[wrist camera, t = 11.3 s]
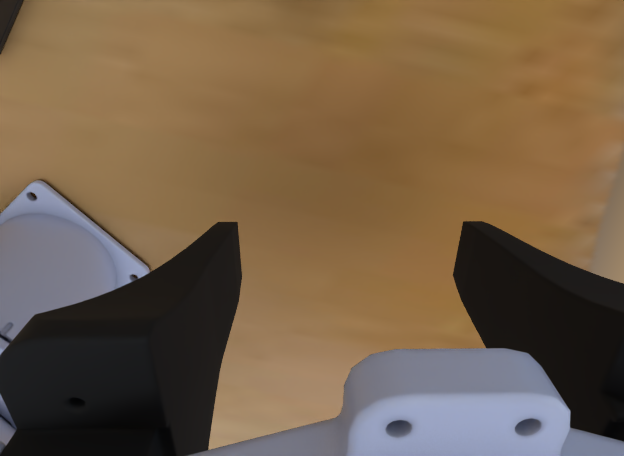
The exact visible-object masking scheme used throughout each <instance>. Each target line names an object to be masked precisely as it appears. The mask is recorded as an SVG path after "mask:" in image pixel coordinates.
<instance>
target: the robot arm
mask: <svg viewBox="0 0 624 456" xmlns="http://www.w3.org/2000/svg"><path fill="white" fill-rule="evenodd" d="M31 192H32V193H34V194H35V195H36V197H37V198H35V197H33V196H32V195H31ZM132 274H134V275H137V276H138V278H135V277H133V276H132ZM453 277H454V280H455V283H456V286H457V289H458V292H459V295H460V298H461V300H462V302H463V304H464V307H465V308H466V310H467V312H468V314H469V316H470V318H471V320H472V322H473V324H474V326H475V328H476V330H477V331H478V333H479V335H480V337H481V339H482V341H483V343H484V345H485V346H486V348H481V349H394V350H389V351H384V352H379V353H375V354H371V355H369V356H368V357H366V358H365V359H364V360H362V361H361V362H359V363H358V364H357V365H355V366H354V367H352V368H351V371H350V373H349V375H348V378H347V380H346V382H345V384H344V396H343V406H342V410H341V413H340V414H339V416H337V417H336V418H333V419H329V420H325V421H321V422H317V423H313V424H309V425H305V426H301V427H297V428H293V429H289V430H285V431H281V432H278V433H274V434H270V435H266V436H262V437H258V438H254V439H250V440H246V441H242V442H238V443H234V444H230V445H227V446H223V447H219V448H215V449H211V450H208V446H209V438H210V431H211V424H212V417H213V411H214V404H215V397H216V391H217V385H218V379H219V373H220V368H221V363H222V359H223V355H224V352H225V348H226V344H227V341H228V337H229V334H230V330H231V327H232V323H233V320H234V316H235V313H236V309H237V305H238V302H239V295H240V287H241V280H242V271H241V259H240V247H239V235H238V223H237V222H218V223H216V224H215V225H214V226H212V227H211V228H210V229H209V230H208V231H207V232H205V233H204V234H203V235H202V236H201V237H199V238H198V239H197V240H196V241H195V242H193V243H192V244H191V245H190V246H188V247H187V248H186V249H184V250H183V251H182V252H180V253H179V254H177V255H176V256H175V257H173V258H172V259H171V260H169V261H168V262H166V263H165V264H163V265H162V266H160V267H158V268H157V269H155V270H153V271H152V272H150V270H149V268H148V267H147V266H146V265H145V264H144V263H143V262H141V261H140V260H139V259H138V258H137V257H135V256H134V255H133V254H132V253H131V252H129V251H128V250H127V249H126V248H124V247H123V246H122V245H121V244H120V243H118V242H117V241H116V240H115V239H113V238H112V237H111V236H110V235H109V234H107V233H106V232H105V231H104V230H102V229H101V228H100V227H99V226H98V225H96V224H95V223H94V222H93V221H91V220H90V219H89V218H88V217H87V216H85V215H84V214H83V213H82V212H81V211H79V210H78V209H77V208H76V207H74V206H73V205H72V204H71V203H70V202H68V201H67V200H66V199H65V198H63V197H62V196H61V195H60V194H59V193H57V192H56V191H55V190H54V189H52V188H51V187H50V186H49V185H48V184H46V183H45V182H43V181H40V180H35V181H33V182H32V183H30V184H29V185H28V186H27V187H26V188H25V189H24V190H23V191H22V192H21V193H20V194H19V195H18V196H17V197H16V198H15V199H14V200H13V201H12V203H11V204H10V205H9V206H8V207H7V208H6V209H5V210H4V211H3V212H2V213H1V214H0V456H624V284H623V283H619V282H616V281H613V280H610V279H607V278H604V277H601V276H599V275H596V274H593V273H591V272H588V271H586V270H583V269H580V268H578V267H575V266H573V265H571V264H568V263H566V262H564V261H562V260H559V259H557V258H555V257H553V256H551V255H549V254H547V253H545V252H543V251H541V250H539V249H537V248H535V247H533V246H531V245H529V244H527V243H525V242H523V241H521V240H519V239H518V238H516V237H514V236H512V235H510V234H508V233H506V232H504V231H502V230H501V229H499V228H497V227H495V226H492V225H490V224H488V223H485V222H482V221H465V222H463V226H462V231H461V236H460V241H459V246H458V251H457V257H456V262H455V267H454V272H453Z"/></svg>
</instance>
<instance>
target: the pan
mask: <svg viewBox="0 0 624 456" xmlns="http://www.w3.org/2000/svg"><path fill="white" fill-rule="evenodd" d="M22 2H23V0H0V53H1V51H2V49H3V46H4V44H5V42H6V39H7V37H8V35H9V32H10V30H11V28H12V25H13V23H14V21H15V18H16V16H17V14H18V11H19V9H20V7H21V4H22Z"/></svg>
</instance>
